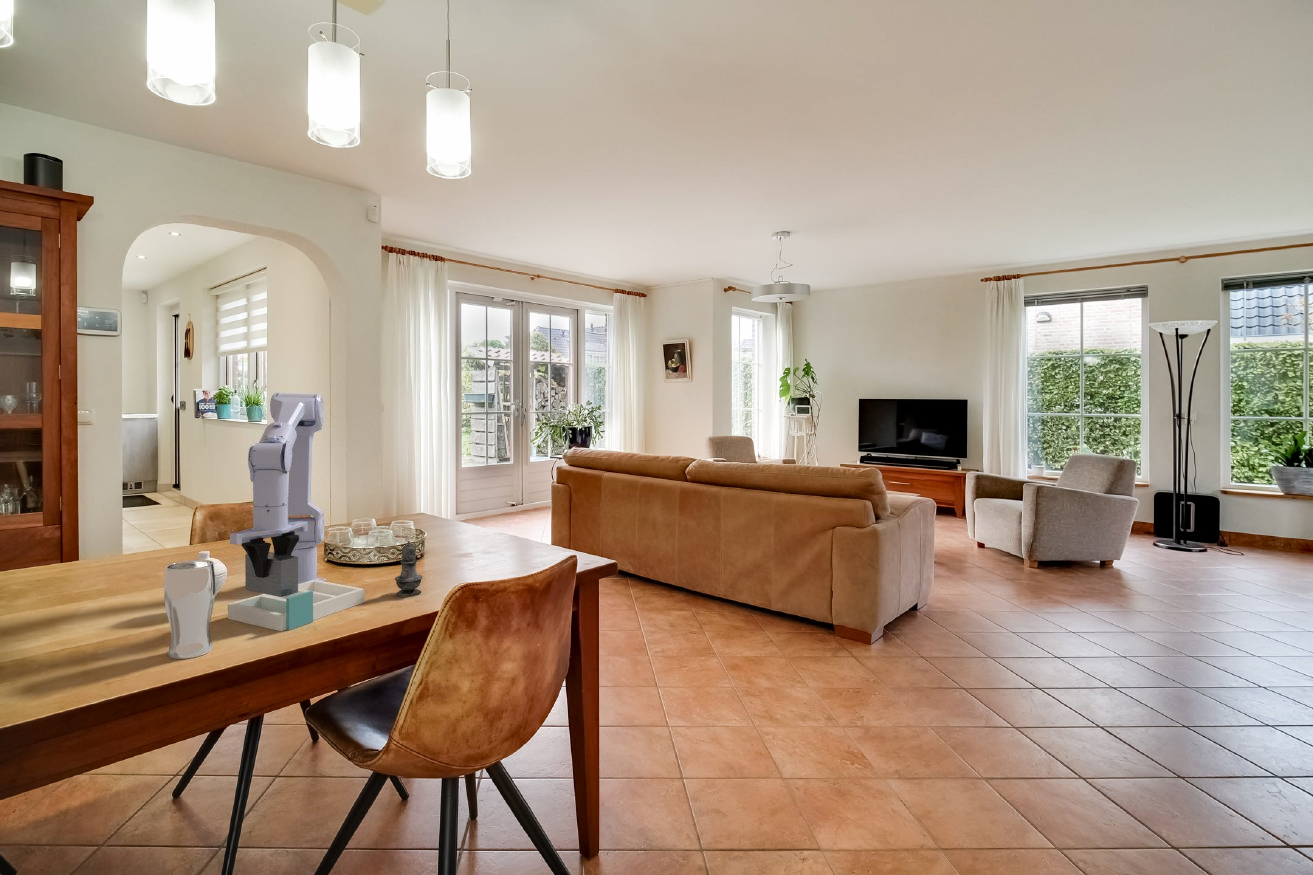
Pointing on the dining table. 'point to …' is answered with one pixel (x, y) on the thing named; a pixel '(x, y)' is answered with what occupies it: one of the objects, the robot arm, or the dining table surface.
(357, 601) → the divided tray
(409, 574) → the dark grey stone ornament
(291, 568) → the dark grey block
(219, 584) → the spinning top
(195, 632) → the beer glass
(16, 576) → the dining table surface
